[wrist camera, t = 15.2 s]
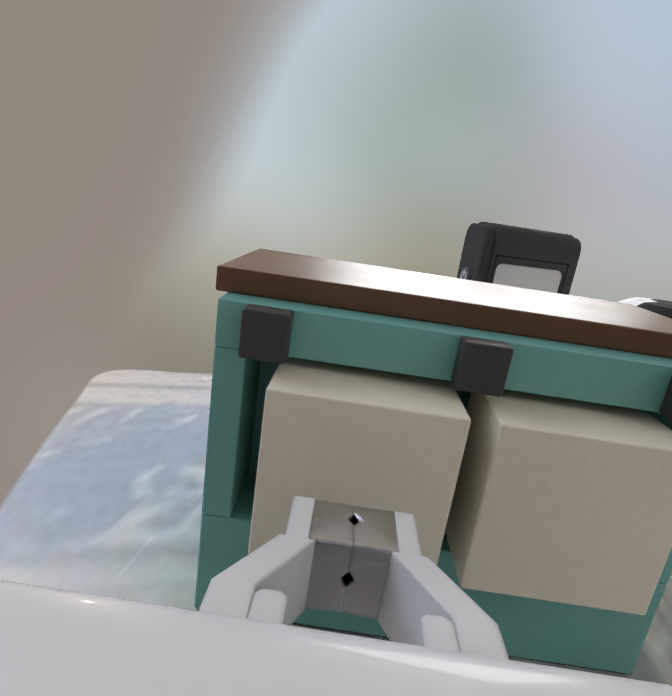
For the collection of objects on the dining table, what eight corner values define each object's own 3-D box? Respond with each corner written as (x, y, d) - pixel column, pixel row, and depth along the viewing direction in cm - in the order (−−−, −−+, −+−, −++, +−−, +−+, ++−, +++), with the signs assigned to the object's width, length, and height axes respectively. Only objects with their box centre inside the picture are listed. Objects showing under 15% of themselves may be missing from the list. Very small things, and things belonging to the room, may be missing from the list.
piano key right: (646, 617, 15) (709, 455, 13) (459, 588, 15) (501, 424, 13) (592, 540, 18) (638, 404, 17) (440, 517, 18) (472, 380, 17)
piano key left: (432, 584, 15) (472, 419, 13) (246, 556, 15) (265, 388, 13) (419, 514, 18) (449, 376, 17) (267, 491, 18) (284, 352, 17)
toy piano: (655, 698, 17) (797, 362, 14) (174, 625, 17) (197, 273, 14) (549, 524, 26) (618, 299, 23) (240, 477, 27) (263, 246, 23)
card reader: (448, 406, 41) (489, 222, 37) (428, 388, 45) (464, 219, 41) (541, 409, 44) (590, 237, 39) (515, 392, 47) (557, 233, 43)
